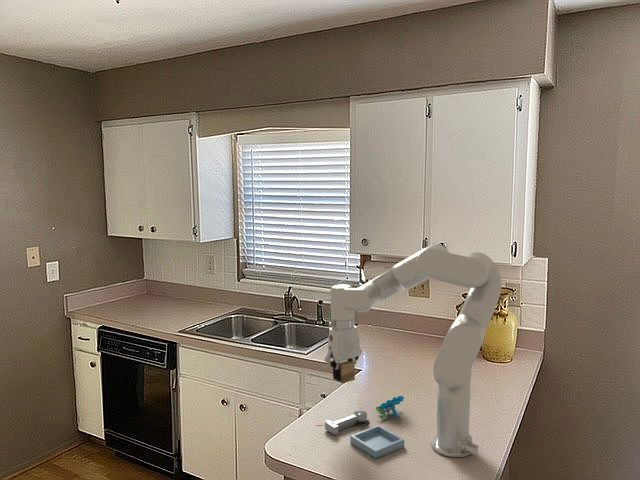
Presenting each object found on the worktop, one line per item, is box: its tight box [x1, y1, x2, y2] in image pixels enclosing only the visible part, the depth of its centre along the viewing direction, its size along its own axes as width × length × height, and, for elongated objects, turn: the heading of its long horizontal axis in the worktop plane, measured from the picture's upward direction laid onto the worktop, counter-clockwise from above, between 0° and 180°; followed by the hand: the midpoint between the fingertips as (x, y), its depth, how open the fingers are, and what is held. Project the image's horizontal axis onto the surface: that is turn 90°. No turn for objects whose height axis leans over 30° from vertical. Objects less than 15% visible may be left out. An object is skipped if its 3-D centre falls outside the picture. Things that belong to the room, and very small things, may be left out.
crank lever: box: [324, 410, 368, 436], centre depth 172 cm, size 15×5×3 cm, turn 126°
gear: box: [375, 395, 405, 421], centre depth 180 cm, size 11×6×10 cm
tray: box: [349, 424, 405, 460], centre depth 160 cm, size 12×12×2 cm
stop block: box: [332, 359, 356, 384], centre depth 170 cm, size 5×5×6 cm
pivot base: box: [315, 419, 370, 428], centre depth 174 cm, size 6×18×1 cm, turn 106°
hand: (344, 377), depth 170 cm, fingers closed on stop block, 5 cm apart
